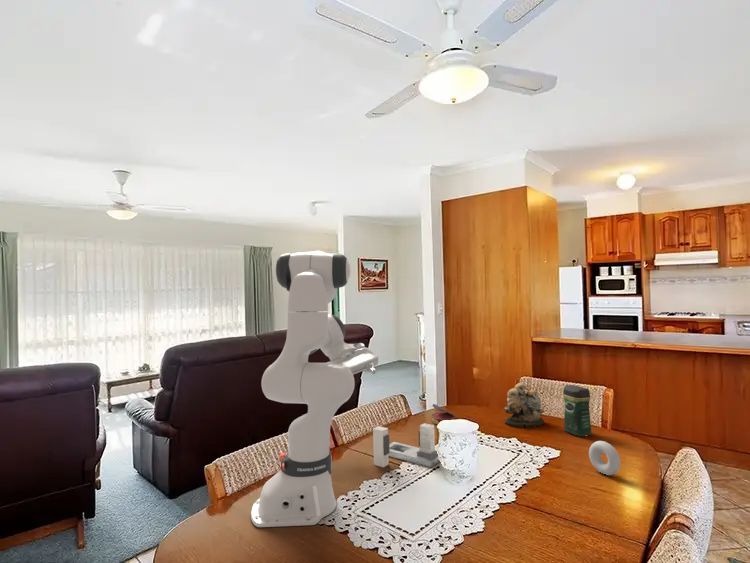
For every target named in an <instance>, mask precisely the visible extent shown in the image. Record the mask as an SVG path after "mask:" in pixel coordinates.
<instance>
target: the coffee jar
mask: <svg viewBox="0 0 750 563" xmlns="http://www.w3.org/2000/svg"><path fill="white" fill-rule="evenodd" d="M562 390H563V392H562V393H563V394H562V397H563V401H564V417H563V418H564V419H563V420H564V422H563V429H564V432H566V431H567V432H566V433H568V432H569V433H568V434H570V433H571V434H570V435H572V434H574V435H573V436H575V435H578V436H577V437H584V436H585V435H589V436H591V435H592V424H591V413H590V402H591V401H590V400H591V392H590V389H589V388H586V387H581V386H579V385H575V384H567V385H565V386H564V387H563V389H562ZM590 434H591V435H590Z"/></svg>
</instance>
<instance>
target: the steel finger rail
mask: <svg viewBox="0 0 750 563" xmlns="http://www.w3.org/2000/svg"><path fill="white" fill-rule="evenodd" d="M435 438H436V437H435V425H434V424H429V423H425V422H424V423H422V424H420V425H419V430H418V446H419V447H417V446H413V445H408V444H405V443H401V442H396V441H393V442H391V443H389V446H390V453H389V457H390V458H394V459H398V460H401V461H405V462H409V463H413V464H416V465H419V466H422V467H423V466H424V467H428V468H433V467H434V466H436V465H437V464H439V463H440V462H439V459H438V454H437V451H438V450H436V442H435V441H436V440H435Z"/></svg>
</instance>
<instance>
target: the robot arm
mask: <svg viewBox="0 0 750 563" xmlns="http://www.w3.org/2000/svg"><path fill="white" fill-rule="evenodd" d="M274 269H275V276H276V280H277V283H278V284H279V285H280V286H281V287H282V288H284V289H286V291H288V300H287V325H286V339H285V342H284V346H283V349H282V351H281V353H280V355H279V356H278V357H277V359H276V360H275V361H274V362H272V364H270V365H269V366H268V367H267V368H266V369H265V370H264V372H263V375H262V376H261V382H260V383H261V390H262V393H263V394H264V396H265V398H267V399H268V400H271V401H274V402H278V403H282V404H305V405H307V413H305V414H302V415H301V416H298V417H297V418H296V419H294V420H293V421H292V422H291V424H290V425H289V427H288V431H287V437H288V438H287V439H288V440H287V443H288V444H287V445H288V446H287V447H288V449H287V450H288V454H286V453H285V452H281V453H280V454H279V456H278V458H279V459H278V460H279V462H280V470H279V471H277V472H276V473H275V474H274V475H273V476H272V477H271V478H269V479H268V480H267V481H266V482H265V483H264V484H263V487H262V489H261V492H260V496H259V498H258V499H257V500H255V501H254V503H253V505H252V507H251V512H250V520H251V522H252V525H254V526H255V527H257V528H271V527H272V528H275V527H276V528H277V527H296V526H297V527H300V526H314V525H317V524H318V523H319V522H320V521H321V520H322V519H323V518H324V517H326V516H328V515H330V514H332V512H334V511H335V509H336V508H337V500H336V497H335V494H334V489H333V483H332V470H333V468H332V467H333V466H332V465H333V462H332V461H333V460H332V458H333V456H332V453H331V451H330V435H331V432H330V431H331V425H332V421H333V419H334V416H335V414H336V413H337V411H338V409H340V407H341V406H342V405H343V404H345V403H346V402H348V401H349V400H350V398H351V396H352V394H353V393H354V390H355V386H356V385H355V377H354V375H355V374H359V373H360V372H364V371H365V370H366V371H367V370H368V369H369V370H370V371H369V373H370V374H371V375H375V374H377V369H376V368H375V367H376V366H378V365H379V355H378V354H377V353H376V352H374V350H372V349H370V348H369V347H366V346H365V343H362V342H359V343H347V342H345V337H346V328H345V324H344V323H343V321H342V320H341V319H340V318H339V317H338V316H336V315H335V314H331V313H329V304H330V303H331V302H332V301H333V300H334V299H335V297H336V295H337V292H338V288H339V289H340V288H343V287H345V286H346V285H347V284H348V281H349V279H350V276H351V266H350V264H349V261H348V258H347V256H345V255H344V254H342V253H339V252H337V253H336V252H334V253H331V252H329V253H328V252H325V251H323V250H315V251H304V252H302V251H301V252H295V253H292V252H288V253H287V252H286V253H283V254H281V255H279V257H278V258H277V260H276V265H275V268H274ZM319 349H320V350H321V351H322V353H323V354H324V355H325V356H326V357H328V359H329V361H327V362H309V356H310V355H312V354H314V353H315V352H316V351H318V350H319Z"/></svg>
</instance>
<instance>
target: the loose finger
mask: <svg viewBox="0 0 750 563" xmlns="http://www.w3.org/2000/svg"><path fill="white" fill-rule="evenodd" d="M372 433H373V434H372V439H373V441H372V443H373V444H372V445H373V446H372V447H373V466H377V467H379V468H383V469H384V468H385V467H386V466H389V465H390V463H389V460H390V459H389V457H390V456H389V453H390V446H389V444H390V434H389V428H388V427H383V426H379V425H377V426H375V427H373V428H372Z"/></svg>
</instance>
